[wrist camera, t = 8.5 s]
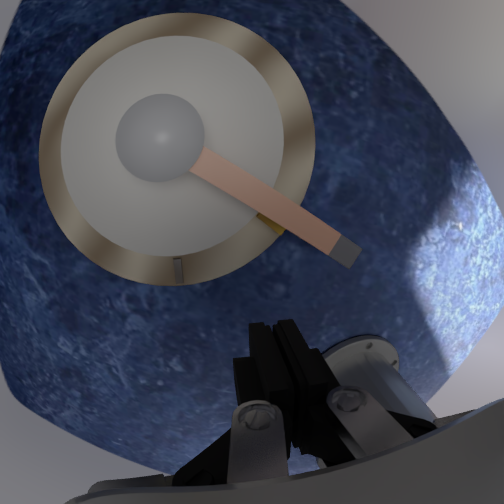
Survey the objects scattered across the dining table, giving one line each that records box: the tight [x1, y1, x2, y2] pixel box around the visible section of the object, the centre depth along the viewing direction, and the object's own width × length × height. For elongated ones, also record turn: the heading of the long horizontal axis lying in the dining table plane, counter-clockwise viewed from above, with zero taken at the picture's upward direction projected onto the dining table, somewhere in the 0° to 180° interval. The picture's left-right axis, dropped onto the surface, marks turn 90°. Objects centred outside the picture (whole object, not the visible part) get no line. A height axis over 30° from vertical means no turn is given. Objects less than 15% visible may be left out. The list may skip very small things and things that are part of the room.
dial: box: [61, 36, 362, 269], centre depth 19 cm, size 22×16×6 cm
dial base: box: [39, 13, 315, 286], centre depth 21 cm, size 22×22×2 cm
